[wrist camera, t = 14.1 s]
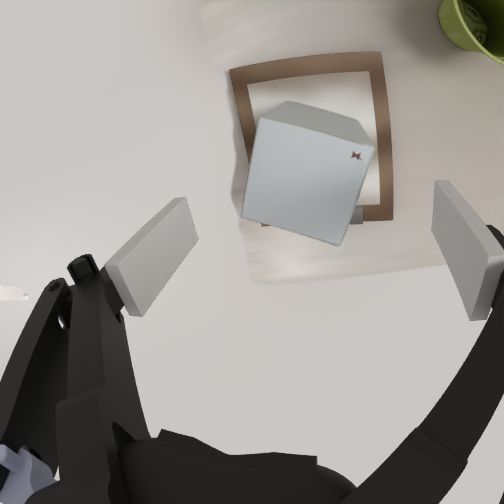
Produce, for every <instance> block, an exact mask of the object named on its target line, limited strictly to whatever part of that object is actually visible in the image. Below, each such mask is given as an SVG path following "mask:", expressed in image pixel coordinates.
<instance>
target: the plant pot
mask: <svg viewBox="0 0 504 504" xmlns="http://www.w3.org/2000/svg"><path fill="white" fill-rule="evenodd" d="M468 8H470V9H472V10H473V11H474V12H475V14H476V15H477V17H475V16H474V14H473V13H472V12H471V11H470V10H469V9H468ZM438 16H439V21H440V25H441V28H442V30H443V32H444V33H445V35H446V36H447V37H448V38H449V39H450V40H451V41H452V42H453V43H454V44H456V45H457V46H459V47H461V48H463V49H466V50H470V51H475V52H480V53H483V54H486V55H487V56H489V57H490V58H491V59H493V60H495V61H496V62H498V63H500V64H503V65H504V0H444V2H443V3H442V4H441V5H440V7H439V11H438ZM465 22H466V24H465ZM479 36H481V37H482V38H481V41H480V42H478V41H477V39H478V38H479Z"/></svg>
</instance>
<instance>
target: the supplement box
mask: <svg viewBox="0 0 504 504" xmlns="http://www.w3.org/2000/svg"><path fill="white" fill-rule="evenodd" d="M374 151H375V147H374V145H373V144H372V142H371V140H370V139H369V137H368V135H367V134H366V132H365V130H364V129H363V127H362V125H361V124H360V122H359V121H358V120H357V119H354V118H351V117H347V116H344V115H341V114H338V113H335V112H331V111H328V110H325V109H321V108H317V107H314V106H310V105H306V104H302V103H298V102H294V101H286V102H285V103H283V104H281V105H280V106H278V107H277V108H275V109H273V110H272V111H270V112H269V113H267V114H265V115H264V116H262V117H260V118H259V121H258V126H257V130H256V135H255V140H254V145H253V150H252V156H251V161H250V166H249V172H248V177H247V183H246V189H245V194H244V200H243V206H242V213H241V217H242V218H246V219H249V220H253V221H256V222H260V223H263V224H267V225H271V226H274V227H278V228H281V229H285V230H288V231H292V232H295V233H298V234H301V235H304V236H307V237H311V238H314V239H317V240H320V241H323V242H326V243H329V244H332V245H335V246H340V245H341V243H342V241H343V238H344V236H345V233H346V231H347V228H348V225H349V223H350V220H351V217H352V215H353V212H354V209H355V206H356V204H357V201H358V199H359V196H360V193H361V189H362V186H363V184H364V181H365V178H366V175H367V172H368V169H369V166H370V163H371V160H372V157H373V154H374Z"/></svg>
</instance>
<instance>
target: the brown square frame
mask: <svg viewBox="0 0 504 504" xmlns="http://www.w3.org/2000/svg"><path fill="white" fill-rule="evenodd" d="M229 71H230V76H231V80H232V85H233V90H234V94H235V99H236V104H237V108H238V113H239V118H240V122H241V127H242V132H243V137H244V141H245V146H246V151H247V156H248V161H249V166H250V161H251V156H252V150H253V145H254V140H255V135H256V130H257V126H258V121H259V118H260V117H262V116H264V115H265V114H267V113H269V112H270V111H272V110H273V109H275V108H277V107H278V106H280V105H281V104H283V103H285V102H286V101H294V102H298V103H302V104H306V105H310V106H314V107H317V108H321V109H325V110H328V111H331V112H335V113H338V114H341V115H344V116H347V117H351V118H354V119H357V120H358V121H359V122H360V124H361V125H362V127H363V129H364V130H365V132H366V134H367V135H368V137H369V139H370V140H371V142H372V144H373V145H374V147H375V151H374V154H373V157H372V160H371V163H370V166H369V169H368V172H367V175H366V178H365V181H364V184H363V186H362V189H361V193H360V196H359V199H358V201H357V204H356V206H355V209H354V212H353V215H352V217H351V220H350V223H349V224H363V221H387V220H393V164H392V144H391V129H390V118H389V108H388V99H387V90H386V83H385V76H384V69H383V63H382V57H381V52H352V53H336V54H323V55H313V56H304V57H296V58H289V59H282V60H275V61H269V62H264V63H258V64H253V65H248V66H243V67H238V68H233V69H229ZM261 225H262V226H271V225H267V224H263V223H261Z"/></svg>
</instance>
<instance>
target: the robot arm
mask: <svg viewBox="0 0 504 504" xmlns="http://www.w3.org/2000/svg"><path fill="white" fill-rule="evenodd" d="M432 232H433V234H434V236H435V239H436V241H437V243H438V245H439V247H440V249H441V251H442V253H443V256H444V258H445V260H446V262H447V264H448V267H449V269H450V271H451V274H452V276H453V278H454V281H455V283H456V286H457V288H458V290H459V293H460V296H461V298H462V301H463V304H464V306H465V309H466V312H467V315H468V317H469V320H470V321H476V320H486V319H487V317H488V314H489V311H490V309H491V307H492V309H493V310H492V312H491V314H490V316H489V318H488V321H487V322H486V324H485V326H484V328H483V330H482V332H481V334H480V336H479V337H478V339H477V341H476V343H475V345H474V346H473V348H472V350H471V352H470V353H469V355H468V357H467V358H466V360H465V362H464V363H463V365H462V366H461V368H460V370H459V371H458V373H457V374H456V376H455V377H454V379H453V380H452V382H451V383H450V385H449V386H448V388H447V390H446V391H445V392H444V394H443V395H442V396H441V398H440V399H439V401H438V402H437V403H436V405H435V406H434V408H433V409H432V410H431V411H430V413H429V414H428V415H427V417H426V418H425V419H424V421H423V422H422V423H421V424H420V425H419V426H418V427H417V428H415V429H414V430H413V431H412V432H411V433H410V434H409V435H408V437H407V438H406V439H405V440H404V441H403V442H402V443H401V444H400V445H399V447H398V448H397V449H396V450H395V451H394V452H393V453H392V454H391V455H390V456H389V457H388V458H387V459H386V460H385V461H384V462H383V463H382V464H381V466H379V468H378V469H377V470H376V471H374V472H373V473H372V474H371V475H370V476H369V477H368V478H367V479H366V480H365V481H364V482H363V483H362V484H361V485H360V486H359V487H358V488H357V487H356V486H355V485H354V484H353V483H352V482H350V481H349V480H348V479H347V478H345V477H344V476H342V475H340V474H339V473H337V472H336V471H333V470H331V469H329V468H326V467H323V466H320V465H317V456H309V455H297V454H286V453H277V452H271V453H259V454H246V455H228V454H225V453H223V452H221V451H219V450H217V449H215V448H213V447H211V446H209V445H207V444H205V443H203V442H202V441H199V440H198V439H196V438H194V437H190V436H186V435H182V434H178V433H175V432H171V431H167V430H164V429H161V431H160V433H159V435H158V437H157V438H151V436H150V434H149V432H148V429H147V425H146V422H145V418H144V414H143V411H142V407H141V403H140V398H139V395H138V390H137V386H136V382H135V377H134V372H133V368H132V363H131V357H130V352H129V347H128V341H127V336H126V330H125V323H124V317H123V315H122V313H121V312H120V310H121V309H122V307H123V306H125V308H126V310H127V311H128V313H129V315H130V316H139V317H143V315H144V314H145V313H146V311H147V310H148V308H149V307H150V306H151V304H152V302H153V301H154V300H155V299H156V297H157V296H158V294H159V293H160V291H161V290H162V289H163V287H164V286H165V285H166V283H167V282H168V280H169V279H170V278H171V276H172V275H173V273H174V272H175V271H176V269H177V268H178V266H179V265H180V264H181V262H182V261H183V260H184V258H185V257H186V256H187V255H188V253H189V252H190V250H191V249H192V248H193V246H194V245H195V244H196V242H197V241H198V240H199V239H198V236H197V233H196V230H195V226H194V223H193V220H192V217H191V213H190V210H189V206H188V203H187V200H186V197H182V198H174V199H173V200H172V201H171V202H170V203H169V204H167V205H166V206H165V207H164V208H163V209H162V210H161V211H160V212H158V213H157V214H156V215H155V216H154V217H153V218H152V219H151V220H150V221H149V222H148V223H147V224H145V225H144V226H143V227H142V228H141V229H140V230H139V231H138V232H137V233H136V234H135V235H134V236H133V237H132V238H131V239H130V240H129V241H128V242H127V243H126V244H125V245H124V246H122V248H120V250H119V251H117V252H116V253H115V255H113V256H112V258H110V259H109V261H107V262H106V263H105V265H104V267H103V268H102V269H101V270H100V271H99V269H98V267H97V265H96V263H95V261H94V259H93V257H92V255H91V254H85V255H82V256H80V257H78V258H76V259H74V260H73V261H72V262H71V263H70V264H69V265H68V267H67V269H68V271H69V273H70V275H71V277H72V279H73V280H74V282H75V285H72V286H68V284H67V283H66V281H65V279H64V278H58V279H56V280H52V281H51V282H50V283H49V284H48V285H47V286H46V287H45V289H44V291H43V292H42V294H41V296H40V298H39V300H38V302H37V303H36V305H35V307H34V309H33V311H32V313H31V315H30V317H29V318H28V320H27V322H26V324H25V327H24V329H23V331H22V333H21V335H20V337H19V339H18V341H17V344H16V346H15V348H14V350H13V352H12V355H11V357H10V359H9V362H8V364H7V366H6V369H5V371H4V374H3V376H2V379H1V381H0V502H2V503H3V504H439V502H440V501H441V500H442V498H444V496H445V495H446V494H447V493H448V491H449V490H450V489H451V487H452V486H453V485H454V483H455V482H456V481H457V479H458V478H459V476H460V475H461V473H462V472H463V470H464V469H465V467H466V465H467V462H468V460H467V459H468V457H469V455H470V453H471V451H472V450H473V449H474V447H475V445H476V444H477V442H478V440H479V439H480V437H481V435H482V434H483V432H484V430H485V429H486V427H487V425H488V423H489V421H490V420H491V418H492V416H493V414H494V412H495V410H496V408H497V406H498V404H499V402H500V400H501V398H502V396H503V394H504V236H503V235H502V234H501V232H500V231H499V230H497V229H496V228H495V227H493V226H492V225H485V224H484V222H483V221H482V220H481V218H480V217H479V216H478V215H477V213H476V212H475V211H474V210H473V208H472V207H471V206H470V205H469V204H468V202H467V201H466V200H465V199H464V198H463V197H462V195H461V194H460V193H459V192H458V191H457V190H456V189H455V187H454V186H453V185H452V184H451V183H450V182H449V181H435V189H434V207H433V220H432ZM58 317H59V319H60V320H61V322H62V323H63V325H64V326H63V329H62V327H61V326H60V324H59V319H58ZM58 466H59V476H60V480H59V481H57V480H55V479H54V477H55V474H56V472H57V468H58ZM499 504H504V492H503V495H502V498H501V500H500V503H499Z"/></svg>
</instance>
